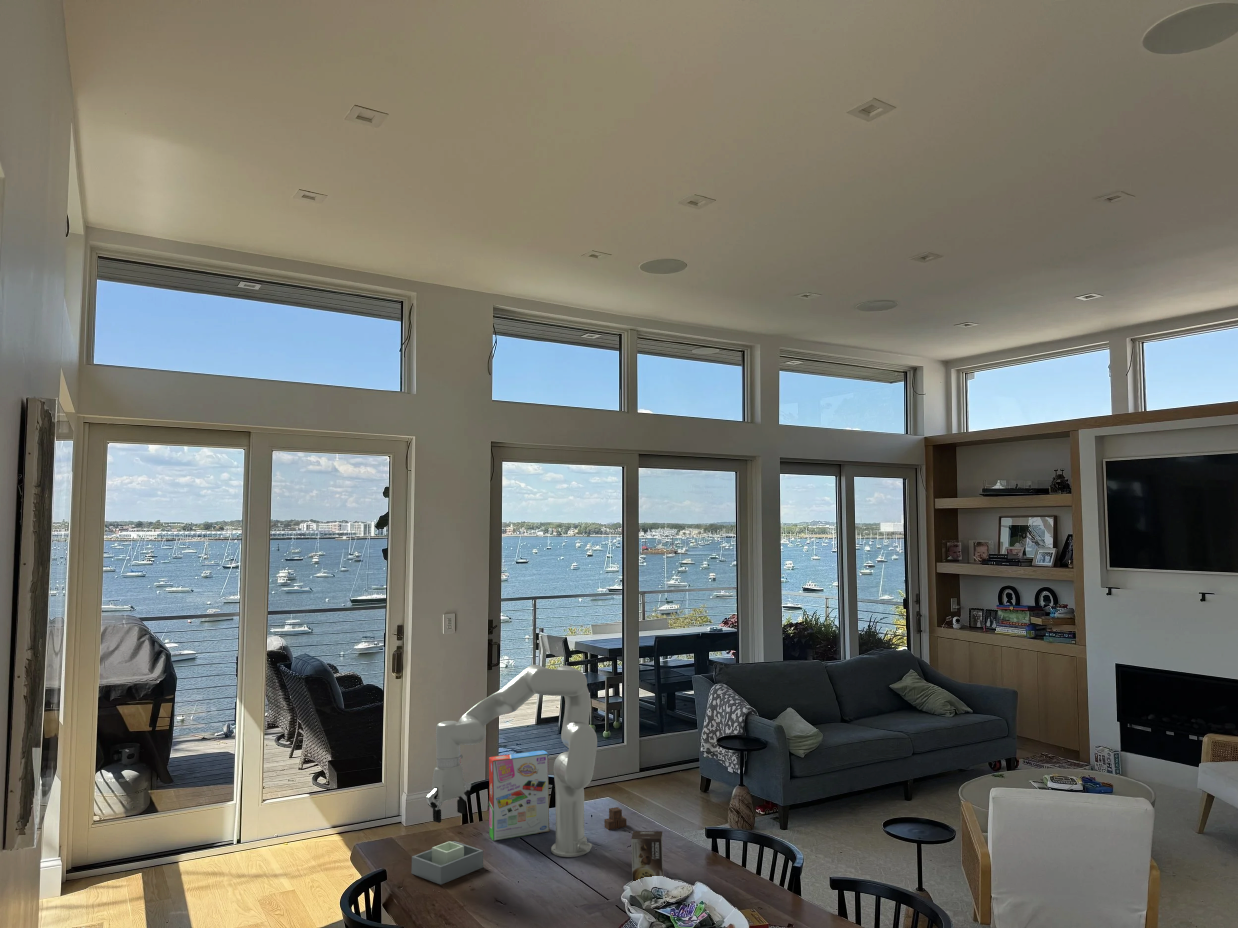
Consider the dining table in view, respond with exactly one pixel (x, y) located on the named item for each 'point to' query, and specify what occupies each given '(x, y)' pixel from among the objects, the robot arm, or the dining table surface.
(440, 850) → the small crate
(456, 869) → the big crate
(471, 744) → the robot arm
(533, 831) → the game box
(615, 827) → the stack of crates
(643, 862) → the food package box
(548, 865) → the dining table surface
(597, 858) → the dining table surface
